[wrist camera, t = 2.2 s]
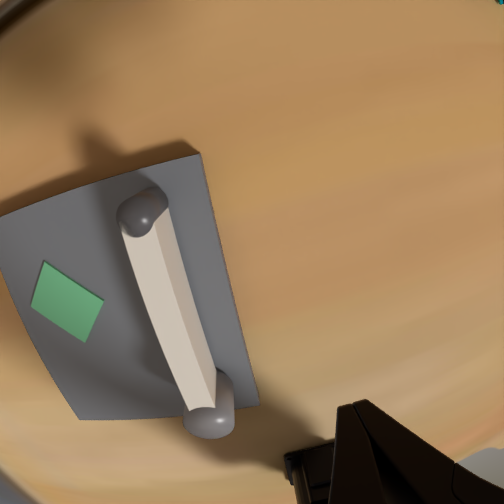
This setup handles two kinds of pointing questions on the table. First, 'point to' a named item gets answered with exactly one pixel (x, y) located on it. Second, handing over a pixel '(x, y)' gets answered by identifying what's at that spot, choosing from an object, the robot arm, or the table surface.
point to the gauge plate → (119, 294)
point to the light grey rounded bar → (175, 313)
